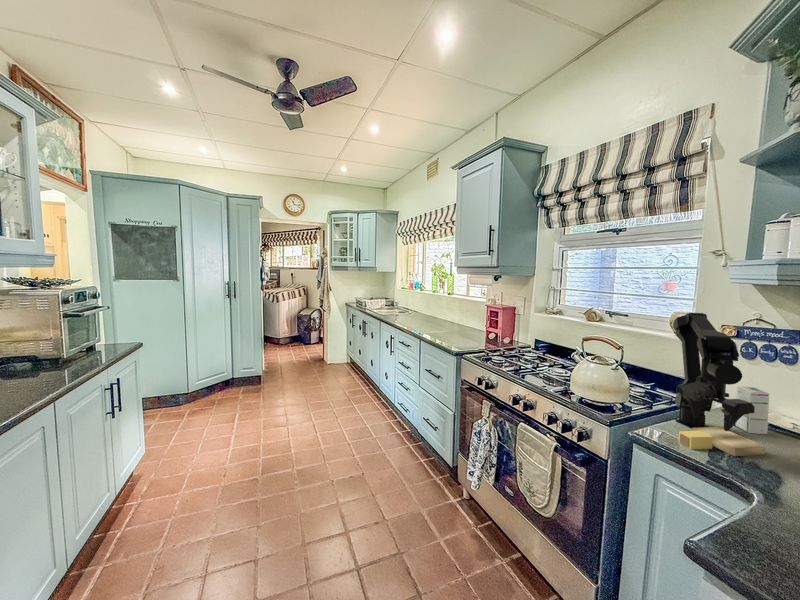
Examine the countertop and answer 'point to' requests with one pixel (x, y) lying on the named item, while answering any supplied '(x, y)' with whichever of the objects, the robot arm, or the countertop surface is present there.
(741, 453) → the cutting board
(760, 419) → the syrup box
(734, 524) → the countertop surface
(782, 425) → the countertop surface
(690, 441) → the mustard block
